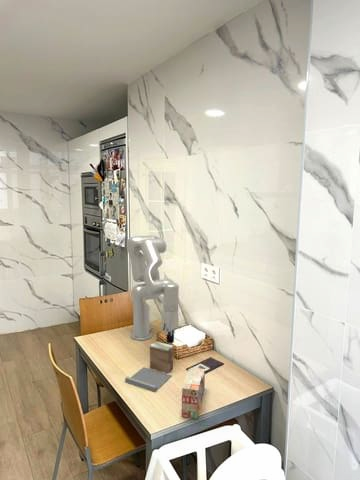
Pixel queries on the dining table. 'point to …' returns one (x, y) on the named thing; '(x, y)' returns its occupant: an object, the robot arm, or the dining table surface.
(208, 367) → the chocolate bar
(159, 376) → the mat
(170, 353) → the walnut block
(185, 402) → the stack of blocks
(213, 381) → the dining table surface
